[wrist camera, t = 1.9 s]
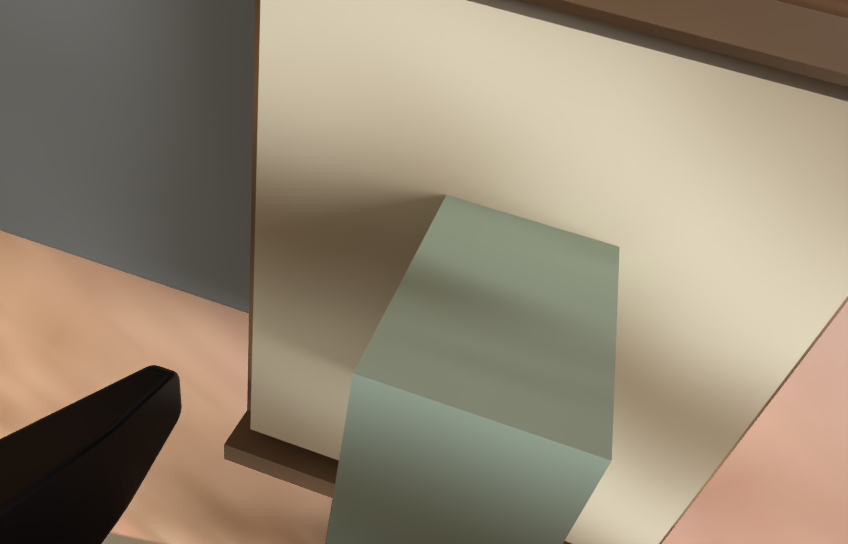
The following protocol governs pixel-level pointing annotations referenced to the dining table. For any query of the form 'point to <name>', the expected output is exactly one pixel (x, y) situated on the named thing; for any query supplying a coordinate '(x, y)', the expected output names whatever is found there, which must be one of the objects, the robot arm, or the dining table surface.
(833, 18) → the walnut box
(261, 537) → the dining table surface
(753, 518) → the dining table surface
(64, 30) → the rubber mat
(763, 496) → the dining table surface
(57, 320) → the dining table surface
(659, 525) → the cover plate
